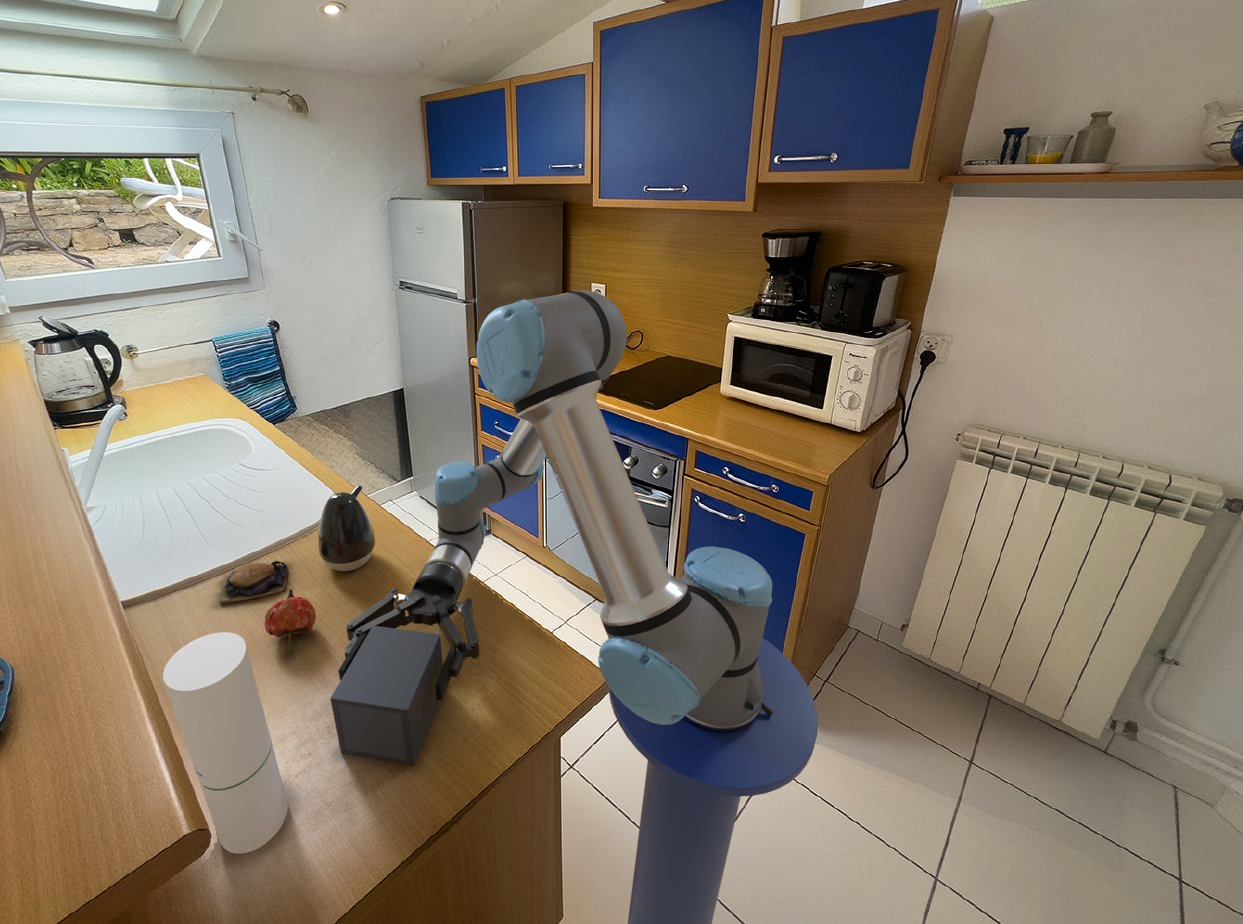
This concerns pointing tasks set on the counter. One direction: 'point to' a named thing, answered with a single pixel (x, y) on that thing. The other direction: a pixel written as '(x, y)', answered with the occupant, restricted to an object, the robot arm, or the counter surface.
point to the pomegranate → (290, 617)
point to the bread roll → (254, 581)
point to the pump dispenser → (345, 532)
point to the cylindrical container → (228, 739)
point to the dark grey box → (388, 695)
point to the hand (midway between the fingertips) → (389, 685)
